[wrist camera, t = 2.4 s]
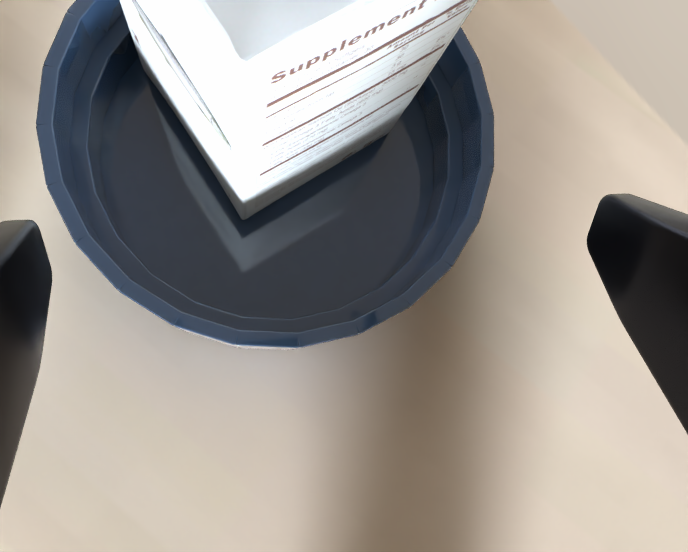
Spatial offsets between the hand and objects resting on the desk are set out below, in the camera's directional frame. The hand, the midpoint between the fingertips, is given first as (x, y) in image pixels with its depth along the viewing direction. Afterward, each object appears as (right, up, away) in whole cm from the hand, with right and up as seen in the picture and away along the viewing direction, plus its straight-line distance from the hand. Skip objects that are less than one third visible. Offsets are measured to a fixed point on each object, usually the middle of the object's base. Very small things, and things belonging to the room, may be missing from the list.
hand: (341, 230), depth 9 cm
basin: (-3, +4, +14) cm, 15 cm away
